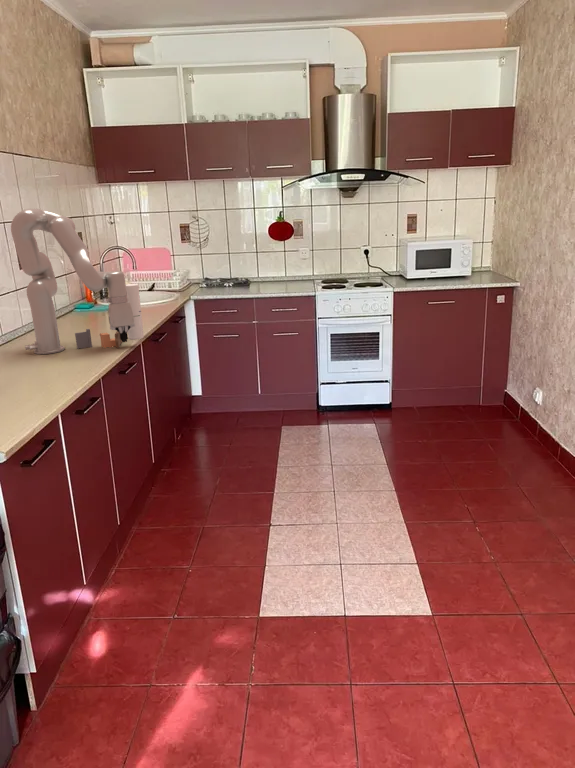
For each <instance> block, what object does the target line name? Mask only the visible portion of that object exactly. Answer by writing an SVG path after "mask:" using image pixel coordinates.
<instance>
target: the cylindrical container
mask: <svg viewBox="0 0 575 768" xmlns="http://www.w3.org/2000/svg"><path fill="white" fill-rule="evenodd" d="M125 284H126V291H127V299H128V302H130V304H131V307H132V311H133V316H134V324H135V326H134V327H132V328H130V329H129V330H128V332H127V335H128V340H141V339H143V338H144V337H145V335H144V325H143V316H142V308H141V307H142V306H141V299H140V290H139V289H140V288H139V284H138V283H128V284H127V283H125Z"/></svg>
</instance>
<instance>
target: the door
mask: <svg viewBox="0 0 575 768" xmlns="http://www.w3.org/2000/svg"><path fill="white" fill-rule="evenodd" d="M114 338H115V342H116V348H120V346H121V344H122V343H123V341H122V340H121V339H120V333H119V332H118V331H117V330H116V332H115V333H114Z"/></svg>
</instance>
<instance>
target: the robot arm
mask: <svg viewBox="0 0 575 768" xmlns="http://www.w3.org/2000/svg"><path fill="white" fill-rule="evenodd" d="M37 230H39V231H43V232H45V233H46V232H47V233H49V234H52V236H53V237H54V239H55V240H56V241H57V243H58V244H59V245H60V247H61V249H62V250H63V252H64V253H65V254H66V256H67V257H68V258H69V262H70V263H71V265H72V267H73V269H74V271H75V272H76V274H77V276H78V278H79V279H80V281H81V282H82V283H83V284H84V286H85V287H86V288H87V289H88V290H89V291H92V292H95V293H97V292H100V291H102V290H104V289H107V291H108V298H106V299H105V300H106V301H105V302H107V303H109V304H108V322H109V329H110V330H111V331H116V332H117V331H118V332H119V333H120V339H121V340H122V343H125V341H126V342H128V340H129V338H128V330H129V329H130V328H132V327H134V326H135V324H134V316H133V311H132V307H131V304H130V302H128V299H127V291H126V284H127V283H126V279H125V273H124V272H123V271H122V270H111V271H97V270H96V268H95V267H94V265H93V264H92V262H91V260H90V257H89V254H88V253H89V252H88V247H87V245H86V244H85V243H84V241H83V240H82V238H81V237H80V235H79V234H78V233H77V232H76V225H75V222H74V221H73V219H71V218H70V217H67V216H64V215H60V214H57V213H54V212H51V211H47V210H45V209H41V208H26V209H23V210H21V211H19V212H18V213H16V215H14V217H13V219H12V220H11V223H10V231H11V232H10V233H11V237H12V240H13V243H14V246H15V250H16V253H17V254H16V255H17V256H18V260H19V263H20V267H21V269H22V271H23V272H24V274H26V275H27V276H30V277H31V278H32V280H31V281H30V282H29V283H28V284H27V287H26V297H27V300H28V303H29V306H30V307H29V308H30V312H31V319H32V322H33V330H34V337H35V341H34V343H32V344H26V345H24V348H25V350H33V353H34V354H35V355H50V354H57V353H61V352H63V351H65V350H66V349H65V346H64V345H61V340H60V333H59V327H58V321H57V314H56V309H55V304H54V301H53V298H52V297H54V296H55V295H56V294H57V292H58V283H57V279H56V275H55V272H54V270H53V265H52V263H51V261H50V258H49V257H48V256H47V254H45V253H43V252H42V251H40V250H39V247H38V246H39V245H38V242H37V240H36V237H35V235H34V232H35V231H37ZM123 326H124V331H122V328H121V327H123Z"/></svg>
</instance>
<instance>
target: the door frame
mask: <svg viewBox="0 0 575 768" xmlns="http://www.w3.org/2000/svg"><path fill="white" fill-rule="evenodd" d="M121 328H122V331H124V326H123V327H121ZM74 336H75V343H76V350H77V349H78V350H80V349H79V348H81V349H86V347H88V348H93V342H92V335H91V328H86V330H85V331H80V332H75V333H74Z"/></svg>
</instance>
